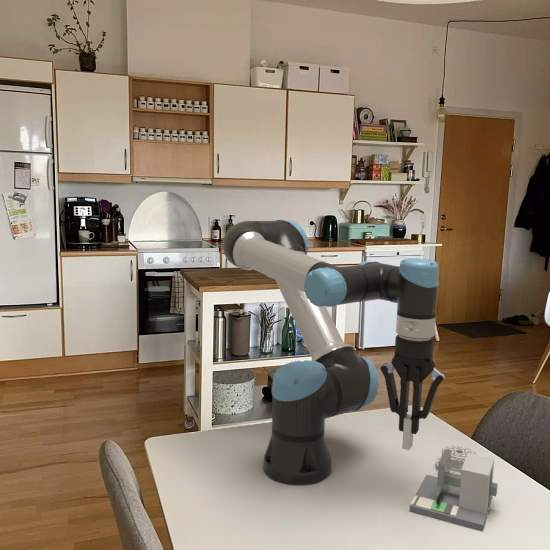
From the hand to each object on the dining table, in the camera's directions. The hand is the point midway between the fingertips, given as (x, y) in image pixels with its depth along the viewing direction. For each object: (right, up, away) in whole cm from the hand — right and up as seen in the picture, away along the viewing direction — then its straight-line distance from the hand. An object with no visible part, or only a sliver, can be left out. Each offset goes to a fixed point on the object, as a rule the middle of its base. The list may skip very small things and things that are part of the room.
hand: (407, 446), depth 116 cm
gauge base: (+8, -10, -4) cm, 13 cm away
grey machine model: (+10, -8, -6) cm, 15 cm away
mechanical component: (+14, -9, +10) cm, 19 cm away
